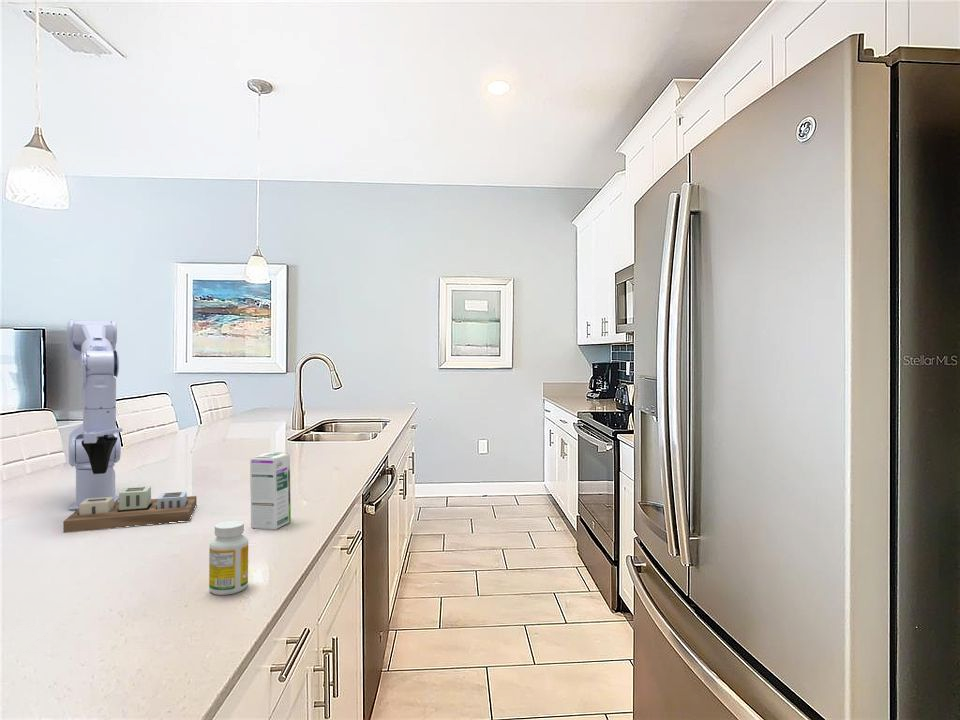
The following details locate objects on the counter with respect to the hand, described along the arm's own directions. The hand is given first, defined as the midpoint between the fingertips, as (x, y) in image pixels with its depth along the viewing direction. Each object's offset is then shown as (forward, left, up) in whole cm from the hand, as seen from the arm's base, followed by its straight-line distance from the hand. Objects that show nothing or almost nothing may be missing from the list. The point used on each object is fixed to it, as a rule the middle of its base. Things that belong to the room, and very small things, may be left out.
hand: (99, 473), depth 122 cm
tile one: (0, -1, -9) cm, 9 cm away
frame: (0, +6, -10) cm, 12 cm away
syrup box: (+15, +33, -10) cm, 38 cm away
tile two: (0, +7, -7) cm, 10 cm away
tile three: (0, +13, -9) cm, 16 cm away
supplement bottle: (+47, +27, -10) cm, 55 cm away
